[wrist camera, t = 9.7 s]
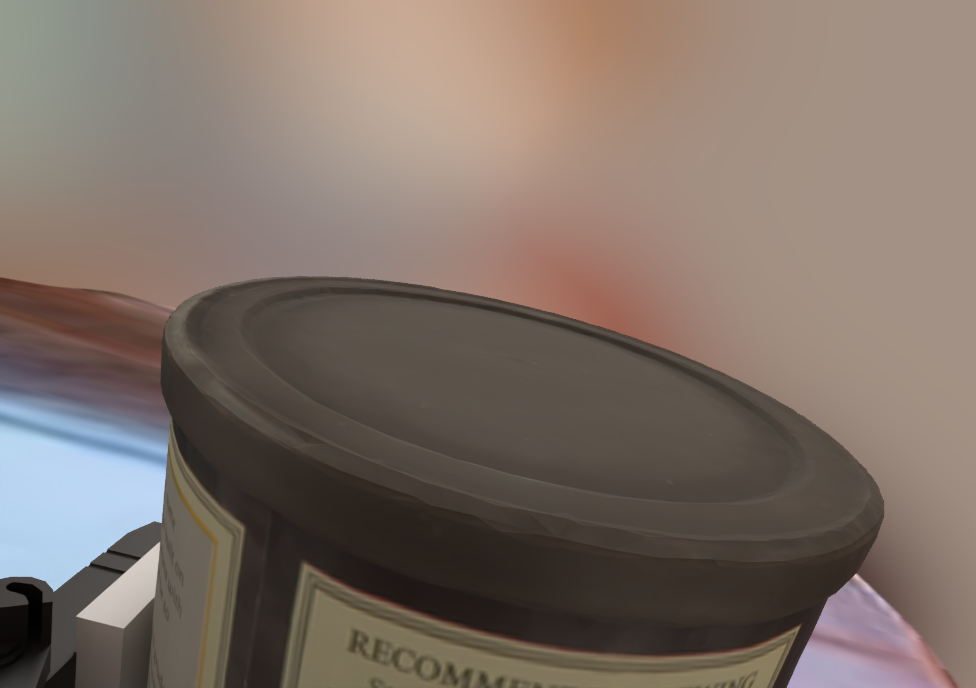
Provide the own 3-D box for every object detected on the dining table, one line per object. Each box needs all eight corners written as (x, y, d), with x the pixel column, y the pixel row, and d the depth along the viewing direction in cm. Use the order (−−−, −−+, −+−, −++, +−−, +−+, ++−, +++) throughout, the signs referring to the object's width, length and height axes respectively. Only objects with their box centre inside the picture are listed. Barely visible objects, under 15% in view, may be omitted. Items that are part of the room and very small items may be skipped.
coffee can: (461, 667, 19) (563, 301, 16) (687, 1077, 11) (1009, 490, 7) (119, 779, 13) (164, 242, 10) (46, 1826, 5) (159, 778, 2)
